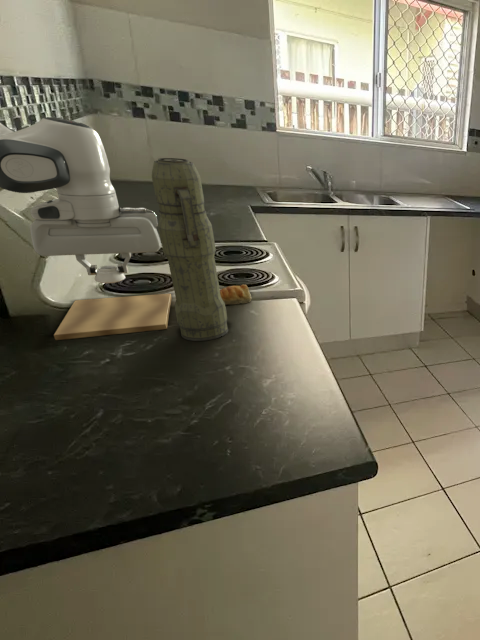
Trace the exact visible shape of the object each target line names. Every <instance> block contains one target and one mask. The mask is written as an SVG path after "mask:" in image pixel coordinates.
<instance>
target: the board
mask: <svg viewBox="0 0 480 640" xmlns="http://www.w3.org/2000/svg"><path fill="white" fill-rule="evenodd" d="M172 299H173V297H172V294H171V293H159V294H158V293H157V294H145V295H144V294H143V295H129V296H116V297H102V298H88V299H75V300H74V301H73V303H72V305H71V306H70V308H69V310H68V311H67V313H66V314H65V316H64V317H63V319H62V321H61V322H60V324H59V326H58V327H57V329H56V330H55V332H54V334H53V337H54V339H55V341H61V340H62V341H64V340H72V339H83V338H91V337H93V338H94V337H103V336H113V335H122V334H132V333H141V332H143V333H144V332H152V331H160V330H161V331H162V330H168V324H169V316H170V312H171V305H172Z"/></svg>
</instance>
